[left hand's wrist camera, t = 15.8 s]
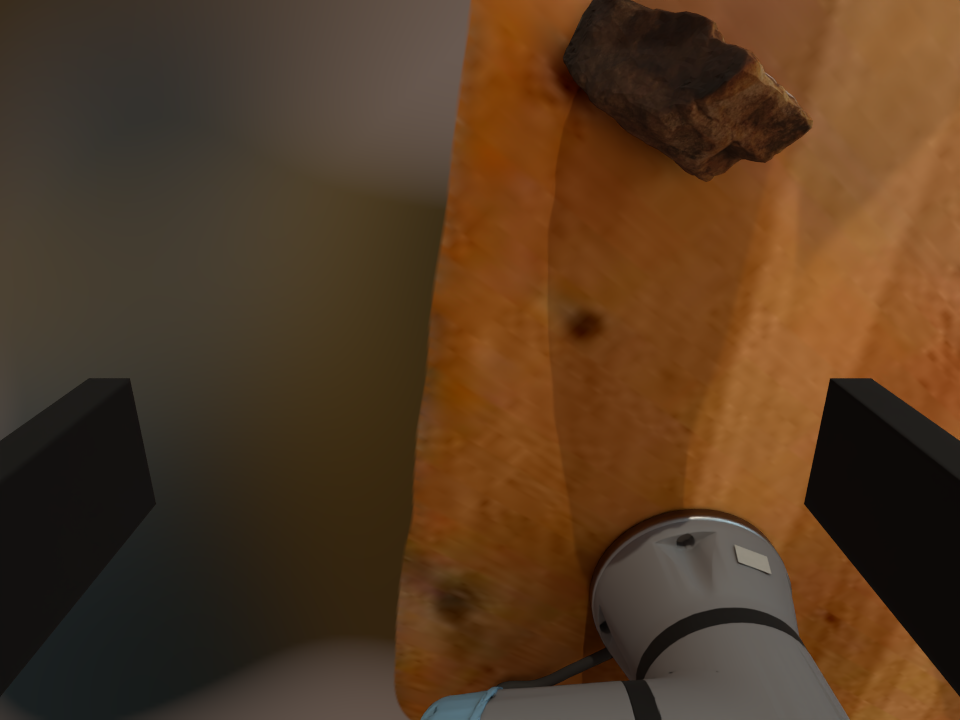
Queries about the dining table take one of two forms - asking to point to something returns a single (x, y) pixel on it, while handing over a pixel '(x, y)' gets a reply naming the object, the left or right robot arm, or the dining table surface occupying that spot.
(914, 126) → the dining table surface
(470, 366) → the dining table surface
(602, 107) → the decorative rock
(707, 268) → the dining table surface
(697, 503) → the dining table surface
